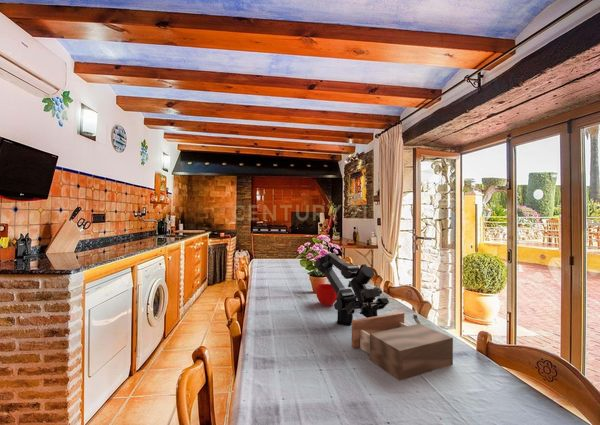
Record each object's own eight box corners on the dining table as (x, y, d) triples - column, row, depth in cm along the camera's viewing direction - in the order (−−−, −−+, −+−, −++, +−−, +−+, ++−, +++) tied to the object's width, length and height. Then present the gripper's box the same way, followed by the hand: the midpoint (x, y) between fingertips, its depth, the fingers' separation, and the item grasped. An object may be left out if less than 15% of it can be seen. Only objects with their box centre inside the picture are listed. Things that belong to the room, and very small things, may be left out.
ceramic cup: (327, 311, 150) (327, 292, 151) (311, 302, 165) (311, 285, 166) (347, 307, 156) (347, 289, 157) (330, 299, 171) (330, 283, 172)
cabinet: (369, 359, 100) (369, 333, 100) (419, 347, 110) (419, 323, 110) (399, 380, 87) (399, 350, 87) (452, 364, 97) (452, 337, 97)
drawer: (351, 346, 108) (351, 320, 108) (401, 336, 119) (401, 311, 119) (376, 364, 95) (377, 334, 96) (429, 350, 106) (430, 323, 106)
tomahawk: (435, 335, 124) (435, 333, 124) (418, 332, 125) (419, 330, 125) (425, 318, 144) (425, 316, 144) (411, 316, 146) (411, 313, 145)
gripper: (350, 281, 115) (367, 318, 105) (386, 278, 123) (405, 311, 113) (339, 296, 122) (354, 331, 112) (374, 292, 130) (391, 325, 120)
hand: (377, 324), depth 114 cm, fingers closed, pressing on drawer
